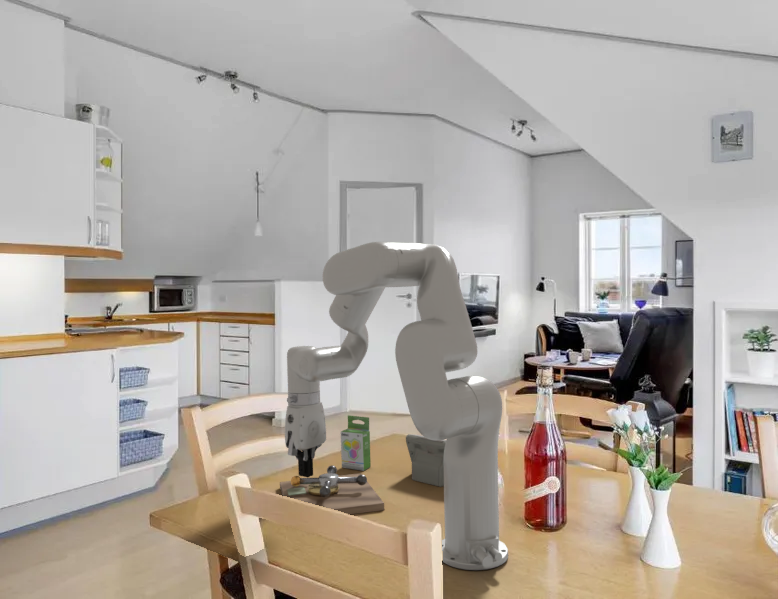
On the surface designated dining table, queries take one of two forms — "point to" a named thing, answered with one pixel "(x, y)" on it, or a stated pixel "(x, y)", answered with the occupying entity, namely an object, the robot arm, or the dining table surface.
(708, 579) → the dining table surface
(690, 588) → the dining table surface
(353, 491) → the stand
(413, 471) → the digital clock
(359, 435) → the ink box
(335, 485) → the capstan
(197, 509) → the dining table surface
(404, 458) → the dining table surface
